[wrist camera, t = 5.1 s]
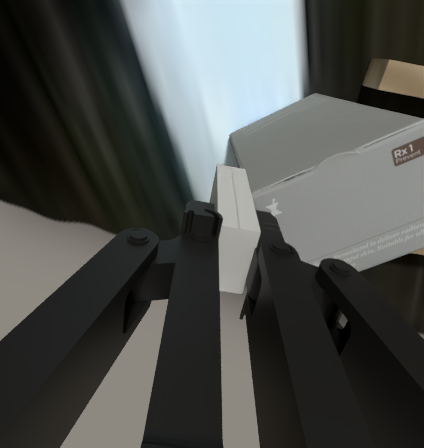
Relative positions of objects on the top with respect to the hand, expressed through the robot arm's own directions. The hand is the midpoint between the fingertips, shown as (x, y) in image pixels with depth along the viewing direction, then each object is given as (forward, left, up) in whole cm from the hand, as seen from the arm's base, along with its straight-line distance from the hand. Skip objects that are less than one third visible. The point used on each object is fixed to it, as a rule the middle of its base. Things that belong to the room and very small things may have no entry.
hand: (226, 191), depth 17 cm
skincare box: (0, +6, -13) cm, 14 cm away
